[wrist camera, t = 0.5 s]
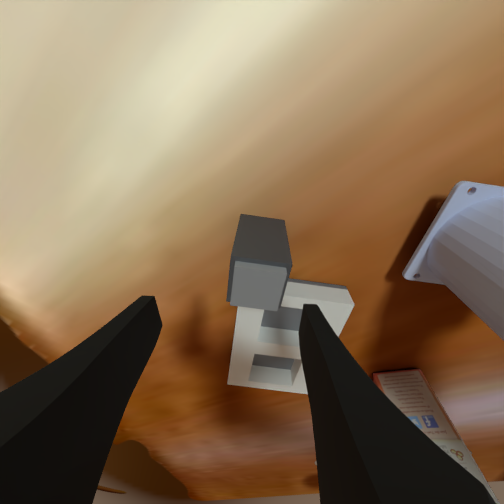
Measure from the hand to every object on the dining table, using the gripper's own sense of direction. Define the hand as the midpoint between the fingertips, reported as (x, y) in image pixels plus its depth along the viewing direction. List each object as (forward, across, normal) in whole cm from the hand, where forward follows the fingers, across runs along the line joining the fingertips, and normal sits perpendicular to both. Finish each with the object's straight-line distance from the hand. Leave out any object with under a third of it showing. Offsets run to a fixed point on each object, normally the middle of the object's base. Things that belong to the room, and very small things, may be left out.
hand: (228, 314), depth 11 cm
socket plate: (+10, -4, +12) cm, 16 cm away
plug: (+10, -1, +1) cm, 10 cm away
